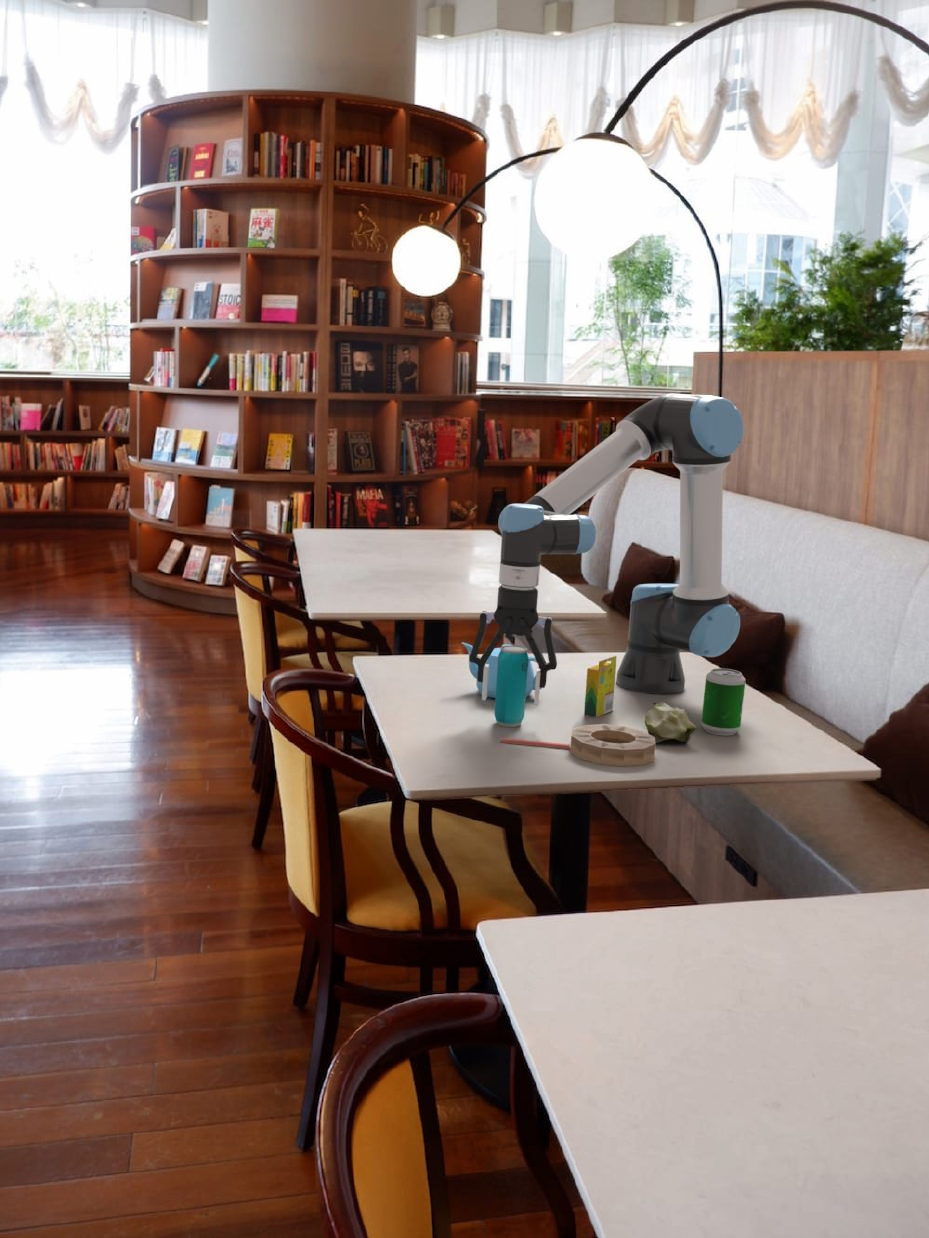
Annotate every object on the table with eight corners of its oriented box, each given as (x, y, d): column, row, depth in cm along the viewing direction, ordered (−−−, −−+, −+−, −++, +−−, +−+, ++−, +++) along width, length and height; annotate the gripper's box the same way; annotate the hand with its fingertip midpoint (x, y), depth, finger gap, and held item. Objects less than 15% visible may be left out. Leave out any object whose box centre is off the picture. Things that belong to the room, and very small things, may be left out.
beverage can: (527, 722, 232) (532, 647, 229) (518, 729, 227) (524, 653, 224) (499, 718, 234) (504, 643, 231) (489, 725, 229) (495, 649, 226)
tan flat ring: (572, 736, 225) (573, 721, 224) (652, 744, 223) (654, 728, 222) (568, 760, 210) (570, 744, 209) (654, 769, 208) (656, 752, 208)
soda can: (740, 738, 230) (746, 678, 228) (700, 734, 232) (706, 674, 229) (739, 728, 237) (745, 669, 235) (700, 723, 239) (706, 665, 236)
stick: (501, 740, 219) (501, 737, 219) (569, 747, 218) (569, 744, 218) (500, 742, 218) (500, 739, 218) (569, 748, 217) (569, 745, 217)
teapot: (468, 634, 258) (550, 643, 254) (465, 682, 260) (546, 691, 256) (454, 645, 246) (539, 655, 242) (450, 695, 248) (535, 706, 244)
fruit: (637, 739, 230) (644, 698, 230) (685, 746, 230) (691, 705, 230) (646, 745, 221) (652, 702, 221) (695, 752, 221) (702, 709, 221)
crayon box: (600, 708, 246) (605, 653, 244) (613, 711, 244) (618, 655, 242) (582, 714, 240) (587, 658, 238) (595, 718, 238) (600, 661, 236)
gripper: (457, 584, 223) (450, 700, 227) (576, 594, 220) (566, 711, 225) (463, 578, 230) (456, 690, 234) (577, 587, 227) (568, 701, 232)
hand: (510, 700), depth 230 cm, fingers open, 9 cm apart
